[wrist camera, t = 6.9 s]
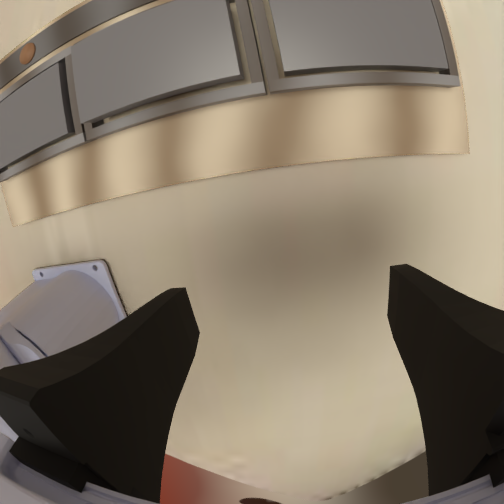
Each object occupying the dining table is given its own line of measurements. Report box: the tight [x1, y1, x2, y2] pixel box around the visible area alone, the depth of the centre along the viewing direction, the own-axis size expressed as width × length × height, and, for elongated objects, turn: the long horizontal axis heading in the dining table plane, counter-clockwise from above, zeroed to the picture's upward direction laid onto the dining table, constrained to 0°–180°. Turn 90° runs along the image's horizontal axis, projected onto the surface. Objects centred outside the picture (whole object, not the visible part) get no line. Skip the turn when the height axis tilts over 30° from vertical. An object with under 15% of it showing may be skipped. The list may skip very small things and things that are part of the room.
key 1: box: [268, 0, 449, 76], centre depth 12 cm, size 9×5×2 cm, turn 100°
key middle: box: [71, 0, 244, 124], centre depth 13 cm, size 9×5×2 cm, turn 100°
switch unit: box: [0, 0, 470, 227], centre depth 14 cm, size 35×15×3 cm, turn 100°
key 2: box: [0, 63, 75, 170], centre depth 15 cm, size 9×5×2 cm, turn 100°
